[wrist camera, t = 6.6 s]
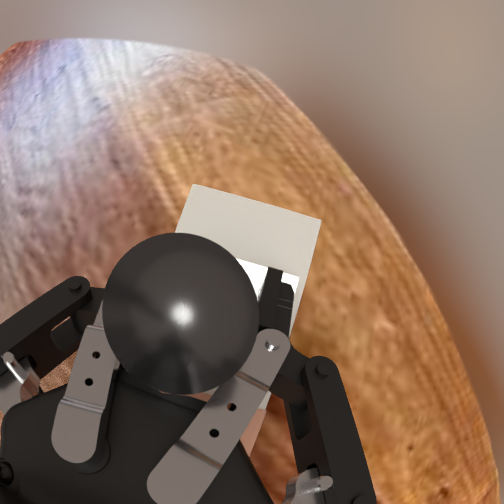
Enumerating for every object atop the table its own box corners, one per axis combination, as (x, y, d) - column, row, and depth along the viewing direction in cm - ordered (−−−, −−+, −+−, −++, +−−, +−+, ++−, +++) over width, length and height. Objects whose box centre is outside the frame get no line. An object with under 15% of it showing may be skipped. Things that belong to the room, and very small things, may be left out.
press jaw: (182, 247, 20) (88, 167, 7) (291, 280, 20) (365, 244, 7) (157, 328, 19) (34, 358, 6) (266, 363, 19) (295, 462, 6)
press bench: (196, 192, 23) (180, 159, 17) (316, 227, 23) (338, 202, 17) (122, 463, 19) (96, 494, 13) (226, 499, 18) (222, 539, 13)
